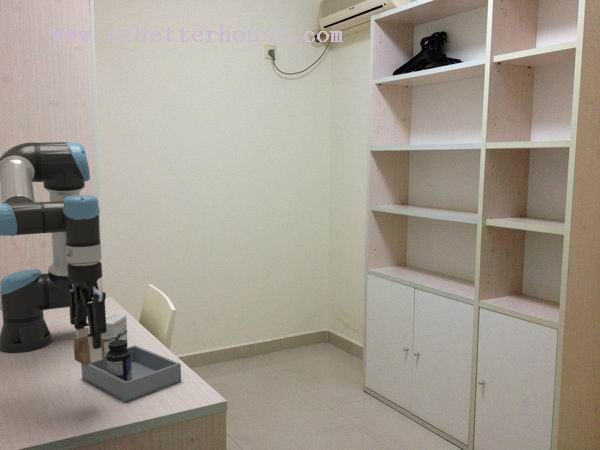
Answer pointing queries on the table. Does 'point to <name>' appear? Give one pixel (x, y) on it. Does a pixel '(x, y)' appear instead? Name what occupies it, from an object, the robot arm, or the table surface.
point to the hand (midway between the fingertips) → (89, 357)
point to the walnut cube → (85, 350)
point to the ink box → (114, 330)
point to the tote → (135, 375)
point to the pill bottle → (119, 360)
